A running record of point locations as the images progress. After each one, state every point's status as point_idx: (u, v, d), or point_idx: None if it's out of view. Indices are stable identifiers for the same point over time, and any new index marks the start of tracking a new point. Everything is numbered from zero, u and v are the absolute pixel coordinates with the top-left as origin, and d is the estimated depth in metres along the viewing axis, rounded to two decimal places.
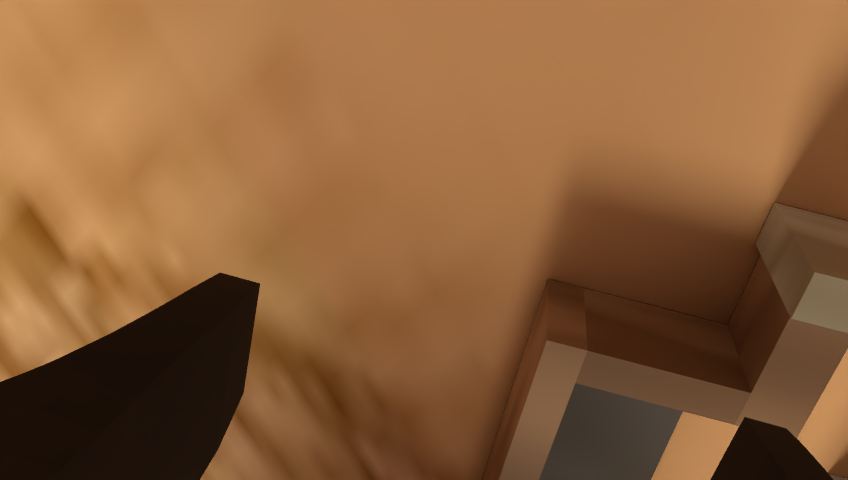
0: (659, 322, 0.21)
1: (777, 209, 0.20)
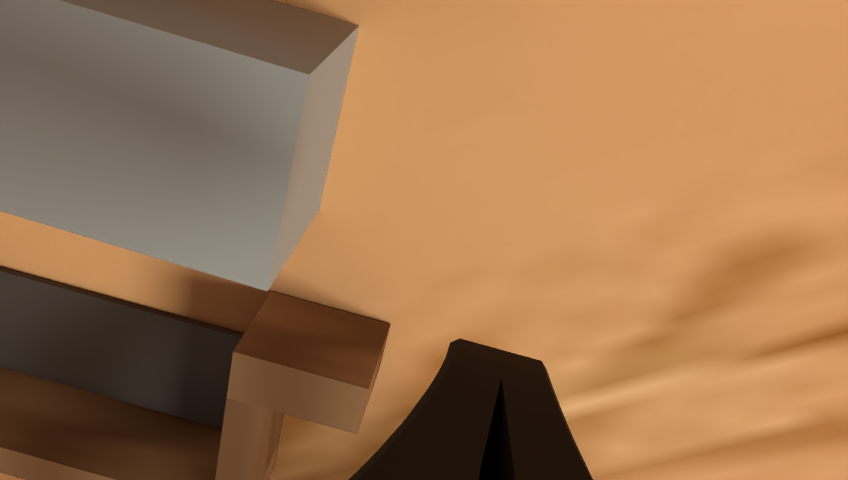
0: None
1: None
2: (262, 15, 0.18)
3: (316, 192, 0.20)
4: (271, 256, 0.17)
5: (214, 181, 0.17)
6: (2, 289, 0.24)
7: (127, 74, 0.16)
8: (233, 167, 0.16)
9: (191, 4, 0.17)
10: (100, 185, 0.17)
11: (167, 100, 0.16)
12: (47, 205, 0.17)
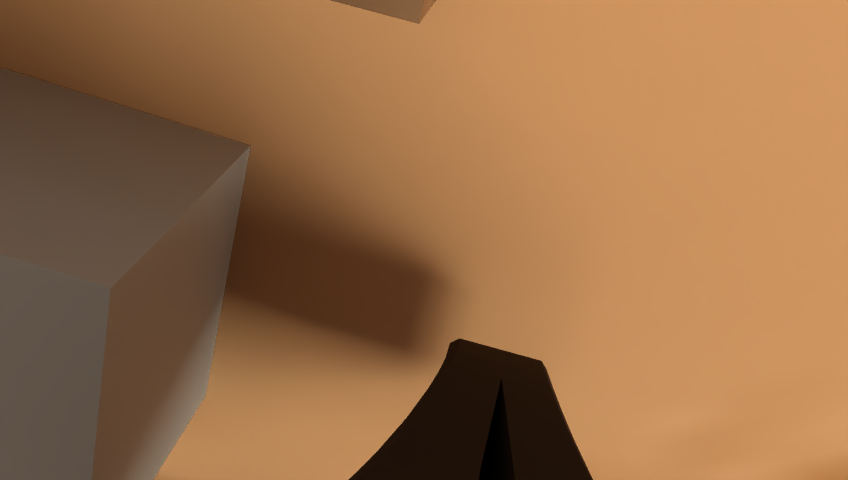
0: None
1: None
2: (80, 140, 0.11)
3: (192, 387, 0.13)
4: None
5: None
6: None
7: None
8: (0, 422, 0.10)
9: None
10: None
11: None
12: None
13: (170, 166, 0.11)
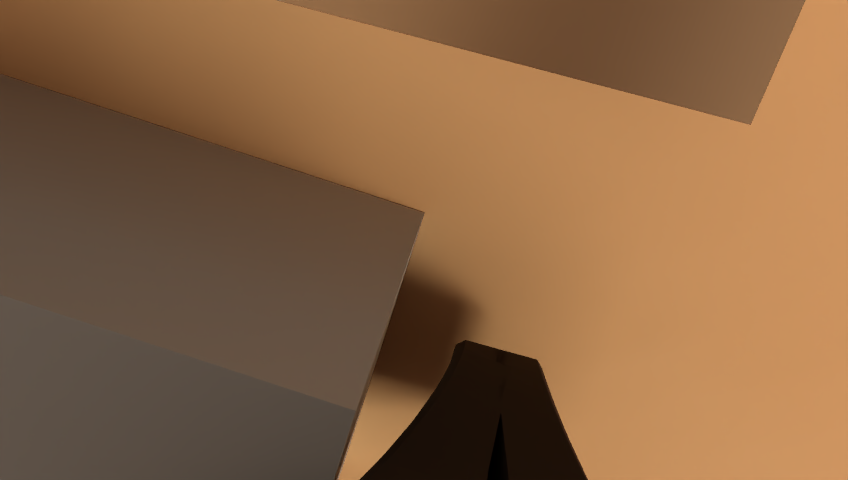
0: None
1: None
2: (262, 219, 0.10)
3: (341, 464, 0.13)
4: None
5: None
6: None
7: None
8: None
9: (136, 207, 0.10)
10: None
11: (75, 426, 0.08)
12: None
13: (357, 247, 0.10)
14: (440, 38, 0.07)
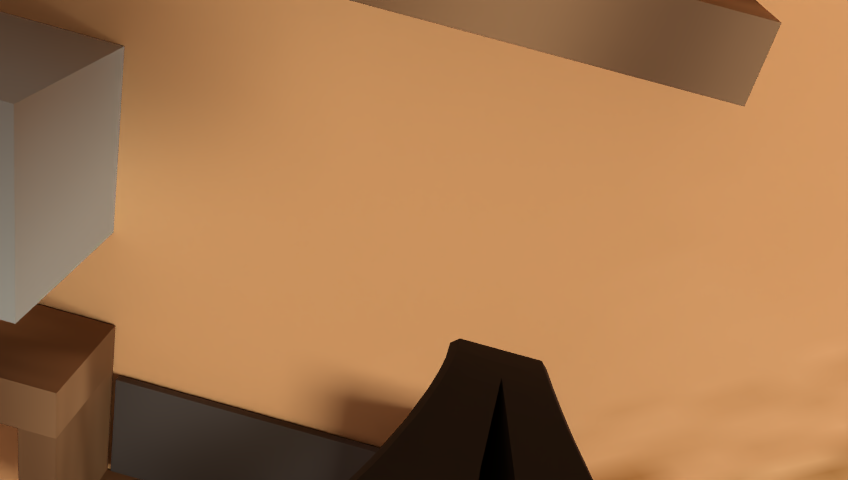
0: None
1: None
2: (7, 38, 0.17)
3: (97, 216, 0.20)
4: (12, 288, 0.17)
5: None
6: (146, 405, 0.23)
7: None
8: None
9: None
10: None
11: None
12: None
13: (65, 53, 0.17)
14: (583, 60, 0.14)
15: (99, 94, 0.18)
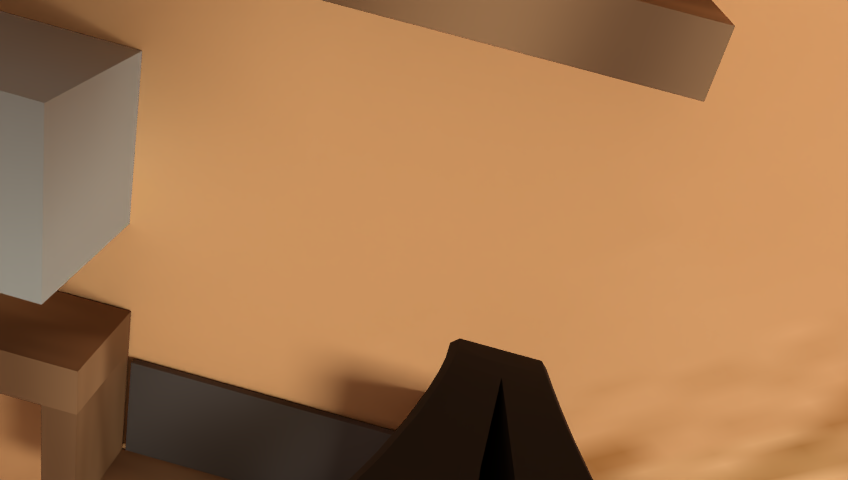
0: None
1: None
2: (35, 44, 0.19)
3: (115, 208, 0.21)
4: (39, 272, 0.18)
5: None
6: (159, 387, 0.25)
7: None
8: None
9: None
10: None
11: None
12: None
13: (88, 57, 0.19)
14: (558, 60, 0.16)
15: (118, 95, 0.20)
